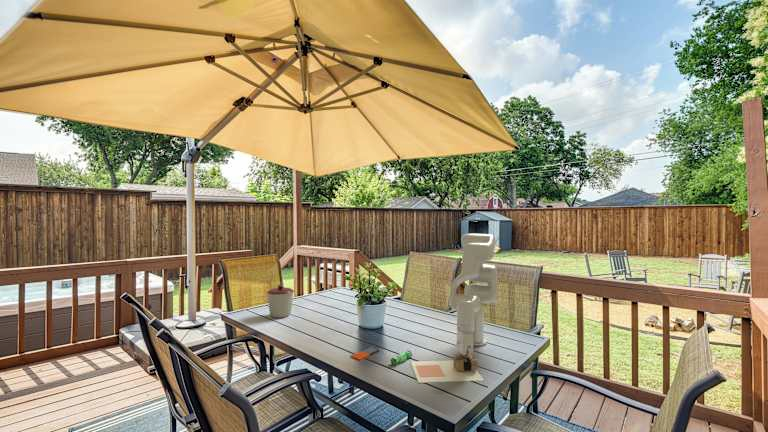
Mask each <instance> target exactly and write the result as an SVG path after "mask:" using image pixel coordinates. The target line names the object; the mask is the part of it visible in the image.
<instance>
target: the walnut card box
mask: <svg viewBox="0 0 768 432" xmlns="http://www.w3.org/2000/svg"><path fill="white" fill-rule="evenodd" d="M467 357H468V356H466V358H467ZM453 360H454V366H455V368H456V370H457V371H465V370H464V361H465V358H464V355H461V354H454V355H453ZM471 370H477V371H478V359H477V357H476V356H475V355H474V354H473V355H472V362H471ZM468 371H469V370H468Z"/></svg>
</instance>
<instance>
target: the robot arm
mask: <svg viewBox="0 0 768 432" xmlns="http://www.w3.org/2000/svg"><path fill="white" fill-rule="evenodd" d="M460 242H461V245H462V258H461V267H460V268H461V270H460V273H459V274H458V275H457V276H456V277H455V278H454V280H453V281H452V282H451V285H450V289H449V297H448V301H449V302H448V303H449V307H450V308H451V309H452V310H454V311H456V331H457V332H456V349H457V350H458V355H464V358H465V361H464V370H465V371H468V370H471V362H472V355H474V346H475V347H479V346H484V345H486V344H487V343H488V342H487V339H486V338H484V335H485V333H484V332H485V330H484V325H485V324H484V322H485V320H484V319H485V317H484V316H485V311H484V307H483V306H482V303H485V304H486V303H487V304H495V303H497V302H498V298H499V281H498V280H499V275H498V274H499V271H498V268H497V267H496V266H495V265H493V264H492V265H491V264H484V261H491V260H492V259H493V258H494V254H495V249H496V238H495V236H494V234H489V233H488V234H487V233H465V234H462V235H461V237H460ZM467 281H470V282H474V283H467V284H466V285H465V286H464V288H463V289H464V292H463V294H462V293H457V290H458V287H459V286H460V285H461V284H463V283H465V282H467ZM475 282H476V283H475ZM482 283H484V284H482ZM485 283H487V284H485ZM466 356H468V357H467V358H466Z"/></svg>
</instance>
